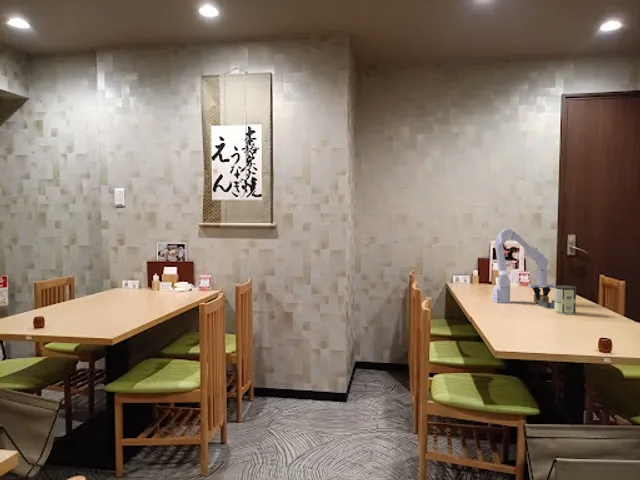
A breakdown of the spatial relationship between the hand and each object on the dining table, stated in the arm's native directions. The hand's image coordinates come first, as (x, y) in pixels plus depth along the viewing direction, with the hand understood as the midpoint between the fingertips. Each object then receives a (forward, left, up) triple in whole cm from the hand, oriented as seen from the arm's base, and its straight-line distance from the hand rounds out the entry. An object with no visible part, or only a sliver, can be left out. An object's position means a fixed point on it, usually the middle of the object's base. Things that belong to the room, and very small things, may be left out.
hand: (541, 300), depth 279 cm
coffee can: (-2, -27, -2) cm, 27 cm away
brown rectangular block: (0, 0, -2) cm, 2 cm away
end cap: (0, -9, -2) cm, 9 cm away
